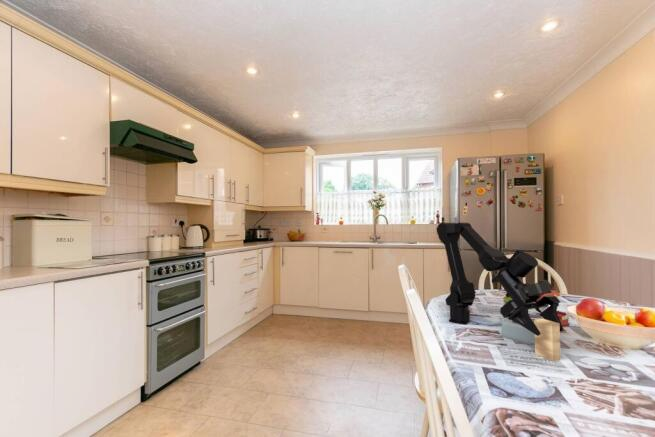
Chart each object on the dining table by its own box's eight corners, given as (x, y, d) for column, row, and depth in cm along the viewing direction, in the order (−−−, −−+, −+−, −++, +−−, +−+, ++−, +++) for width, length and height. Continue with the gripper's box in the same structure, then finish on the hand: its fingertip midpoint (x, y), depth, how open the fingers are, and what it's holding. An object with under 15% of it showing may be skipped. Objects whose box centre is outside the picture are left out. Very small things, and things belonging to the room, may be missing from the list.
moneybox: (501, 336, 101) (501, 321, 101) (512, 330, 107) (512, 316, 107) (540, 346, 92) (540, 330, 93) (550, 339, 98) (549, 324, 98)
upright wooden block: (535, 354, 87) (534, 319, 88) (542, 352, 88) (541, 318, 89) (552, 361, 83) (552, 324, 83) (560, 359, 84) (559, 323, 84)
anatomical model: (571, 328, 107) (551, 286, 111) (546, 331, 112) (528, 291, 117) (577, 322, 113) (558, 283, 118) (554, 325, 119) (536, 288, 124)
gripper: (507, 272, 87) (547, 322, 76) (552, 269, 93) (595, 314, 82) (485, 294, 94) (519, 342, 84) (529, 289, 100) (565, 334, 90)
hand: (551, 333), depth 85 cm, fingers open, 9 cm apart
